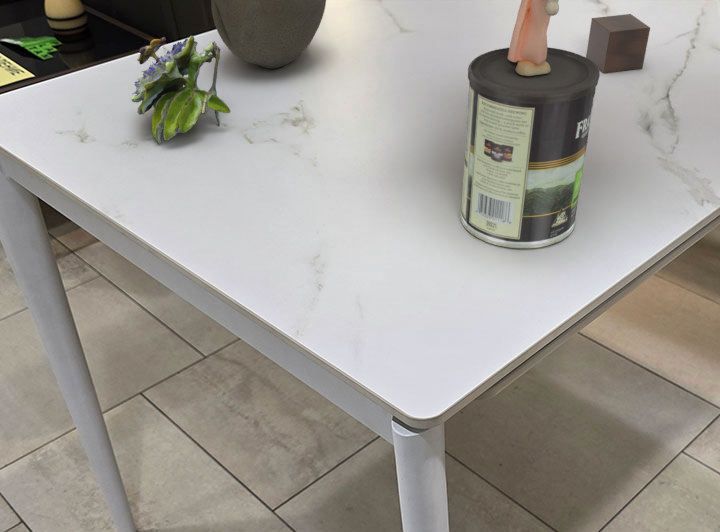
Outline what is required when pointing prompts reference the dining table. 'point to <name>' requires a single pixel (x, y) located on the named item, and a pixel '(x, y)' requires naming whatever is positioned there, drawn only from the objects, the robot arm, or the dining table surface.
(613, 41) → the walnut block
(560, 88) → the coffee can
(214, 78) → the passion flower
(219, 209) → the dining table surface
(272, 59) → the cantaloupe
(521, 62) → the grandmother figurine
